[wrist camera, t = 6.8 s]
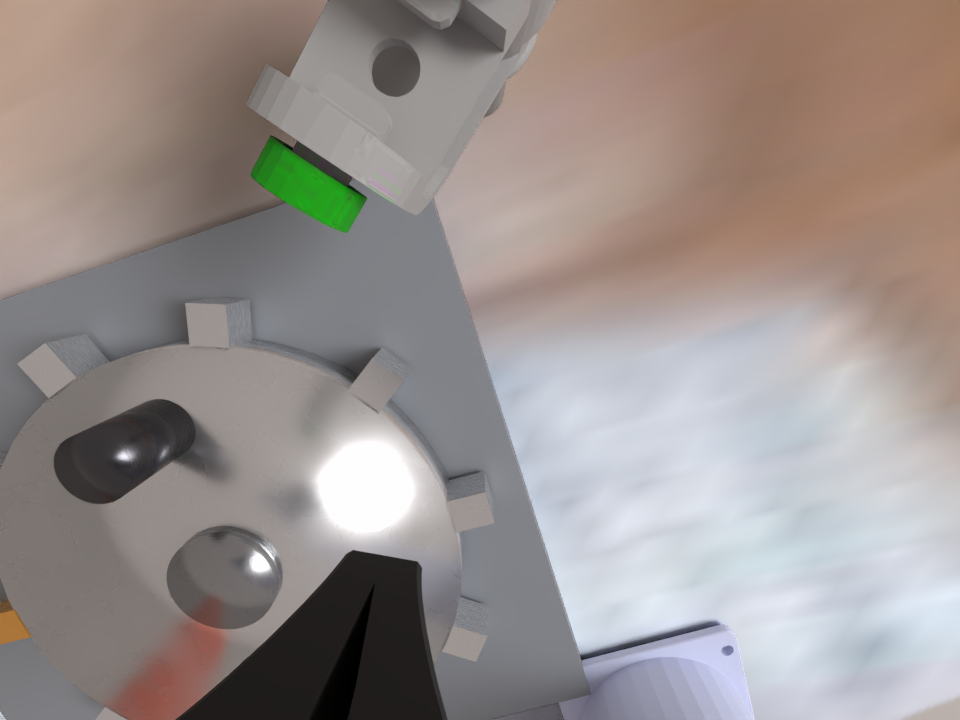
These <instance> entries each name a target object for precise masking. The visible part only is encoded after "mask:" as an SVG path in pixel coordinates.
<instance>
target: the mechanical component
mask: <svg viewBox="0 0 960 720" xmlns="http://www.w3.org/2000/svg"><path fill="white" fill-rule="evenodd" d="M555 3H556V0H328V2H327V4H326V6H325V8H324V10H323V12H322V14H321V16H320V18H319V20H318V22H317V24H316V25H315V27H314V29H313V31H312V33H311V35H310V37H309V39H308V41H307V43H306V45H305V47H304V49H303V51H302V53H301V55H300V57H299V59H298V61H297V63H296V65H295V67H294V69H293V71H292V73H291V75H290V77H288V76H286V75H284V74H283V73H281V72H280V71H278V70H276V69H275V68H273V67H271V66H269V65H267V64H265V66H264V68H263V70H262V72H261V74H260V76H259V78H258V80H257V82H256V84H255V86H254V88H253V90H252V92H251V94H250V96H249V98H248V100H247V102H246V105H247V106H248V107H250V108H251V109H252V110H254V111H255V112H257V113H258V114H259V115H261V116H262V117H264V118H265V119H267V120H268V121H269V122H271V123H272V124H274V125H275V126H277V127H278V128H280V129H281V130H283V131H284V132H286V133H287V134H289V135H290V136H292V137H293V138H295V139H296V140H297V142H296V144H295V146H294V148H292V147H291V146H289V145H287V144H286V143H284V142H282V141H281V140H279V139H277V138H275V137H273V136H270V138H269V140H268V141H267V143H266V145H265V147H264V149H263V151H262V153H261V155H260V157H259V159H258V161H257V163H256V164H255V166H254V168H253V170H252V172H251V176H252V178H253V179H254V180H255V181H257V182H258V183H259V184H260V185H262V186H263V187H264V188H266V189H267V190H268V191H270V192H271V193H273V194H274V195H276V196H277V197H279V198H280V199H282V200H283V201H285V202H286V203H288V204H290V205H291V206H293V207H295V208H296V209H298V210H300V211H301V212H303V213H305V214H306V215H308V216H310V217H312V218H314V219H316V220H317V221H319V222H321V223H323V224H325V225H327V226H329V227H331V228H333V229H336V230H338V231H341V232H344V233H348V232H349V230H350V228H351V226H352V225H353V223H354V221H355V219H356V218H357V216H358V214H359V212H360V211H361V209H362V207H363V205H364V204H365V202H366V200H367V197H366V196H364V195H363V194H362V193H360V192H359V191H358V190H356V189H355V188H353V187H352V186H351V185H349V183H350V181H351V179H352V178H355V179H356V180H358V181H359V182H361V183H362V184H364V185H365V186H367V187H368V188H370V189H372V190H373V191H375V192H376V193H378V194H379V195H381V196H382V197H384V198H386V199H387V200H389V201H390V202H392V203H394V204H395V205H397V206H398V207H400V208H402V209H404V210H405V211H407V212H409V213H411V214H413V215H418V214H419V213H421V212H422V211H423V210H424V209H425V207H426V206H427V205H428V204H429V203H430V201H431V200H432V199H433V197H434V196H435V195H436V193H437V192H438V190H439V189H440V188H441V186H442V185H443V183H444V182H445V180H446V179H447V177H448V175H449V174H450V172H451V170H452V169H453V167H454V166H455V164H456V162H457V161H458V159H459V157H460V156H461V154H462V152H463V151H464V149H465V147H466V146H467V144H468V142H469V141H470V139H471V137H472V136H473V134H474V132H475V131H476V129H477V127H478V126H479V124H480V122H481V121H482V119H483V117H485V116H488V115H490V114H491V113H493V112H494V111H495V110H496V109H497V108H498V107H499V105H500V104H501V102H502V98H503V95H504V89H505V83H506V80H507V79H508V78H510V77H511V76H513V75H514V74H515V73H516V72H517V71H518V70H519V69H520V68H521V67H522V66H523V65H524V63H525V62H526V61H527V59H528V58H529V56H530V54H531V52H532V50H533V47H534V44H535V41H536V37H537V33H538V31H539V30H540V28H541V27H542V26H543V25H544V23H545V22H546V20H547V18H548V17H549V15H550V14H551V12H552V10H553V7H554V5H555Z"/></svg>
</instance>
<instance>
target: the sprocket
mask: <svg viewBox="0 0 960 720" xmlns="http://www.w3.org/2000/svg"><path fill="white" fill-rule="evenodd" d="M185 306H186V316H187V326H188V335H189V340H184V341H179V342H174V343H169V344H165V345H160V346H157V347H154V348H151V349H148V350H144V351H141V352H138V353H135V354H131V355H128V356H126V357H123V358H120V359H117V360H114V361H112V362H110V361H109V360H108V359H107V358H106V357H105V356H104V355H103V353H102V352H101V351H100V350H99V349H98V348H97V347H96V345H95V344H94V343H93V342H92V341H91V340H90V339H89V337H88V336H87V335H86V334H83V335H78V336H74V337H69V338H65V339H60V340H56V341H51V342H47V343H44V344H43V345H42V346H40V347H39V348H38V349H36V350H35V351H34V352H32V353H31V354H30V355H28V356H27V357H26V358H24V359H23V360H22V361H20V362H19V363H18V364H17V365H18V366H19V367H20V368H21V369H22V370H23V371H24V372H25V373H26V374H27V375H28V376H29V377H30V379H31V380H32V381H33V382H34V383H35V384H36V385H37V386H38V387H39V388H40V389H41V390H42V392H43V393H44V394H45V395H46V396H47V397H48V399H47V400H46V401H45V402H44V403H43V404H42V405H41V407H40V408H39V409H38V410H37V411H36V412H35V413H34V414H33V415H32V416H31V417H30V418H29V419H28V420H27V422H26V423H25V425H24V426H23V428H22V429H21V431H20V432H19V434H18V435H17V437H16V438H15V440H14V441H13V443H12V445H11V447H10V449H9V451H8V453H4V452H1V451H0V578H1V581H2V584H3V587H4V589H5V592H6V595H7V597H8V598H7V599H5V600H4V601H3V602H1V603H0V645H1V644H5V643H9V642H13V641H17V640H21V639H25V638H29V637H31V639H32V640H33V642H34V643H35V645H36V646H37V647H38V648H39V650H40V651H41V652H42V653H43V654H44V655H45V656H46V658H47V659H48V660H49V661H50V662H51V663H52V664H53V665H54V667H55V668H56V669H57V670H59V671H60V672H61V673H62V674H63V675H64V676H65V677H66V678H67V679H68V680H70V681H71V682H72V683H73V684H74V685H75V686H76V687H77V688H79V689H80V690H82V691H83V692H84V693H86V694H87V695H88V696H90V697H91V698H93V699H94V700H95V701H97V702H98V703H99V704H101V705H103V706H104V707H105V708H104V709H103V710H102V712H101V713H100V714H99V716H98V717H97V718H96V719H95V720H175V719H177V718H178V717H179V716H180V715H182V714H183V713H184V712H185V711H187V710H188V709H189V708H190V707H191V706H193V705H194V704H195V703H196V702H197V701H199V700H200V699H201V698H202V697H203V696H205V695H206V694H207V693H208V692H209V691H210V690H212V689H213V688H214V687H215V686H216V685H217V684H219V683H220V682H221V681H222V680H223V679H224V678H225V677H227V676H228V675H229V674H230V673H231V672H232V671H233V670H234V669H235V668H236V667H238V666H239V665H240V664H241V663H242V662H243V661H244V660H245V659H246V658H247V657H248V656H250V655H251V654H252V653H253V652H254V651H255V650H256V649H257V648H258V647H259V646H260V645H262V644H263V643H264V642H265V641H266V640H267V639H268V638H269V637H270V636H271V635H272V634H273V633H274V632H275V631H276V630H277V629H278V628H279V627H280V626H281V625H282V624H283V623H284V622H285V621H286V620H287V619H288V618H289V617H290V616H291V615H292V614H293V613H294V612H295V611H296V610H297V609H298V608H299V607H300V606H301V605H302V604H303V603H304V602H305V601H306V600H307V599H308V598H309V597H310V595H311V594H312V593H313V592H314V591H315V590H316V589H317V588H318V587H319V586H320V585H321V583H322V582H323V581H324V580H325V579H326V578H327V577H328V576H329V574H330V573H331V572H332V571H333V570H334V568H335V567H336V566H337V565H338V564H339V562H340V561H341V560H342V559H343V557H344V556H345V555H346V554H347V553H349V552H350V551H352V550H356V551H362V552H367V553H373V554H379V555H384V556H390V557H396V558H401V559H407V560H412V561H418V563H419V564H420V565H421V567H422V598H423V607H424V615H425V622H426V628H427V634H428V639H429V644H430V649H431V654H432V659H433V664H435V662H436V660H437V659H438V657H439V655H440V653H441V652H445V653H448V654H451V655H455V656H458V657H461V658H465V659H468V660H471V661H474V662H476V661H477V659H478V657H479V654H480V652H481V650H482V648H483V646H484V643H485V641H486V639H487V637H488V630H487V605H484V604H481V603H478V602H475V601H472V600H468V599H465V598H462V597H460V590H461V572H462V553H463V538H462V531H465V530H469V529H473V528H477V527H481V526H485V525H489V524H493V523H494V506H493V498H492V494H491V491H490V487H489V484H488V481H487V477H486V474H485V471H483V472H479V473H475V474H471V475H467V476H463V477H459V478H455V479H451V480H449V478H448V476H447V473H446V471H445V469H444V467H443V465H442V463H441V462H440V460H439V458H438V456H437V455H436V453H435V451H434V449H433V447H432V446H431V444H430V443H429V442H428V440H427V439H426V438H425V436H424V435H423V434H422V432H421V431H420V430H419V428H418V427H417V426H416V425H415V423H414V422H413V421H412V420H411V419H410V418H409V417H408V416H407V415H406V414H405V413H404V412H403V411H402V410H401V409H400V408H399V407H398V406H397V405H396V404H395V403H394V402H393V401H392V400H391V399H390V398H391V397H392V396H393V394H394V393H395V392H396V391H397V389H398V388H399V387H400V386H401V384H402V383H403V382H404V380H405V379H406V377H407V375H408V373H409V371H410V369H411V368H410V367H408V366H407V365H406V364H404V363H403V362H402V361H400V360H399V359H398V358H396V357H395V356H394V355H392V354H391V353H390V352H388V351H387V350H386V349H384V348H383V347H382V348H381V349H380V350H379V351H378V353H377V354H376V355H375V356H374V357H373V358H372V359H371V360H370V362H369V363H368V364H367V366H366V367H365V368H364V370H363V371H362V372H361V374H360V375H359V376H358V375H356V374H354V373H353V372H351V371H349V370H348V369H346V368H344V367H343V366H340V365H338V364H336V363H334V362H332V361H329V360H327V359H325V358H323V357H321V356H318V355H316V354H314V353H311V352H307V351H304V350H301V349H298V348H295V347H291V346H288V345H285V344H280V343H275V342H269V341H264V340H258V339H252V326H251V312H250V299H235V298H208V299H203V300H197V301H192V302H187V303H185Z"/></svg>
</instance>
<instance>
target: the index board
mask: <svg viewBox="0 0 960 720" xmlns="http://www.w3.org/2000/svg"><path fill="white" fill-rule="evenodd" d="M349 185H351V186H352V187H353V188H355V189H356V190H358V191H359V192H360V193H362V194H363V195H364V196H366V197H367V200H366V202H365V204H364V205H363V207H362V209H361V211H360V212H359V214H358V216H357V218H356V219H355V221H354V223H353V225H352V226H351V228H350V230H349V232H348V233H344V232H341V231H338V230H336V229H333V228H331V227H329V226H327V225H325V224H323V223H321V222H319V221H317V220H316V219H314V218H312V217H310V216H308V215H306V214H305V213H303V212H301V211H300V210H298V209H296V208H295V207H293V206H291V205H290V204H288V203H284V204H281V205H279V206H276V207H273V208H270V209H267V210H264V211H261V212H258V213H255V214H252V215H249V216H246V217H243V218H240V219H237V220H234V221H232V222H229V223H226V224H223V225H220V226H217V227H214V228H211V229H208V230H205V231H202V232H199V233H196V234H193V235H190V236H188V237H185V238H182V239H179V240H176V241H173V242H170V243H167V244H164V245H161V246H158V247H155V248H152V249H149V250H146V251H143V252H141V253H138V254H135V255H132V256H129V257H126V258H123V259H120V260H117V261H114V262H111V263H108V264H105V265H102V266H99V267H96V268H94V269H91V270H88V271H85V272H82V273H79V274H76V275H73V276H70V277H67V278H64V279H61V280H58V281H55V282H52V283H50V284H47V285H44V286H41V287H38V288H35V289H32V290H29V291H26V292H23V293H20V294H17V295H14V296H11V297H8V298H5V299H3V300H0V451H1V452H4V453H8V451H9V449H10V447H11V445H12V443H13V441H14V440H15V438H16V437H17V435H18V434H19V432H20V431H21V429H22V428H23V426H24V425H25V423H26V422H27V420H28V419H29V418H30V417H31V416H32V415H33V414H34V413H35V412H36V411H37V410H38V409H39V408H40V407H41V405H42V404H43V403H44V402H45V401H46V400H47V399H48V397H47V396H46V395H45V394H44V393H43V392H42V390H41V389H40V388H39V387H38V386H37V385H36V384H35V383H34V382H33V381H32V380H31V379H30V377H29V376H28V375H27V374H26V373H25V372H24V371H23V370H22V369H21V368H20V367H19V366H18V365H17V364H18V363H19V362H20V361H22V360H23V359H24V358H26V357H27V356H28V355H30V354H31V353H32V352H34V351H35V350H36V349H38V348H39V347H40V346H42V345H43V344H44V343H47V342H51V341H56V340H60V339H65V338H69V337H74V336H78V335H83V334H86V335H87V336H88V337H89V339H90V340H91V341H92V342H93V343H94V344H95V345H96V347H97V348H98V349H99V350H100V351H101V352H102V353H103V355H104V356H105V357H106V358H107V359H108V360H109V361H110V362H112V361H114V360H117V359H120V358H123V357H126V356H128V355H131V354H135V353H138V352H141V351H144V350H148V349H151V348H154V347H157V346H160V345H165V344H169V343H174V342H179V341H184V340H189V335H188V326H187V316H186V306H185V303H187V302H192V301H197V300H203V299H208V298H235V299H250V312H251V326H252V339H258V340H264V341H269V342H275V343H280V344H285V345H288V346H291V347H295V348H298V349H301V350H304V351H307V352H311V353H314V354H316V355H318V356H321V357H323V358H325V359H327V360H329V361H332V362H334V363H336V364H338V365H340V366H343V367H344V368H346V369H348V370H349V371H351V372H353V373H354V374H356V375H358V376H359V375H360V374H361V372H362V371H363V370H364V368H365V367H366V366H367V364H368V363H369V362H370V360H371V359H372V358H373V357H374V356H375V355H376V354H377V353H378V351H379V350H380V349H381V348H382V347H383V348H384V349H386V350H387V351H388V352H390V353H391V354H392V355H394V356H395V357H396V358H398V359H399V360H400V361H402V362H403V363H404V364H406V365H407V366H408V367H410V368H411V369H410V371H409V373H408V375H407V377H406V379H405V380H404V382H403V383H402V384H401V386H400V387H399V388H398V389H397V391H396V392H395V393H394V394H393V396H392V397H391V398H390V399H391V400H392V401H393V402H394V403H395V404H396V405H397V406H398V407H399V408H400V409H401V410H402V411H403V412H404V413H405V414H406V415H407V416H408V417H409V418H410V419H411V420H412V421H413V422H414V423H415V425H416V426H417V427H418V428H419V430H420V431H421V432H422V434H423V435H424V436H425V438H426V439H427V440H428V442H429V443H430V444H431V446H432V447H433V449H434V451H435V453H436V455H437V456H438V458H439V460H440V462H441V463H442V465H443V467H444V469H445V471H446V473H447V476H448V478H449V480H451V479H455V478H459V477H463V476H467V475H471V474H475V473H479V472H483V471H485V474H486V477H487V481H488V484H489V487H490V491H491V494H492V498H493V506H494V523H493V524H489V525H485V526H481V527H477V528H473V529H469V530H465V531H462V538H463V553H462V572H461V590H460V597H462V598H465V599H468V600H472V601H475V602H478V603H481V604H484V605H487V630H488V637H487V639H486V641H485V643H484V646H483V648H482V650H481V652H480V654H479V657H478V659H477V661H476V662H474V661H471V660H468V659H465V658H461V657H458V656H455V655H451V654H448V653H445V652H441V653H440V655H439V657H438V659H437V660H436V662H435V664H434V669H435V673H436V677H437V681H438V685H439V689H440V693H441V697H442V701H443V704H444V708H445V712H446V715H447V719H448V720H492V719H496V718H500V717H504V716H508V715H512V714H516V713H520V712H524V711H527V710H531V709H535V708H539V707H543V706H547V705H551V704H555V703H559V702H563V701H567V700H571V699H575V698H579V697H583V696H587V695H591V692H590V688H589V684H588V681H587V678H586V675H585V672H584V669H583V665H582V661H581V657H580V654H579V650H578V647H577V644H576V641H575V638H574V635H573V632H572V629H571V626H570V622H569V619H568V616H567V613H566V610H565V607H564V604H563V601H562V598H561V594H560V591H559V588H558V585H557V582H556V579H555V576H554V573H553V570H552V566H551V563H550V560H549V557H548V554H547V551H546V548H545V545H544V542H543V538H542V535H541V532H540V529H539V526H538V523H537V520H536V517H535V514H534V510H533V507H532V504H531V501H530V498H529V495H528V492H527V489H526V486H525V482H524V479H523V476H522V473H521V470H520V467H519V464H518V461H517V457H516V454H515V451H514V448H513V445H512V442H511V439H510V436H509V433H508V429H507V426H506V423H505V420H504V417H503V414H502V411H501V408H500V405H499V401H498V398H497V395H496V392H495V389H494V386H493V383H492V380H491V377H490V373H489V370H488V367H487V364H486V361H485V358H484V355H483V352H482V349H481V345H480V342H479V339H478V336H477V333H476V330H475V327H474V324H473V321H472V317H471V314H470V311H469V308H468V305H467V302H466V299H465V296H464V292H463V289H462V286H461V283H460V280H459V277H458V274H457V271H456V268H455V264H454V261H453V258H452V255H451V252H450V249H449V246H448V243H447V240H446V236H445V233H444V230H443V227H442V224H441V221H440V218H439V215H438V212H437V208H436V205H435V202H434V199H432V200H431V201H430V203H429V204H428V205H427V206H426V207H425V209H424V210H423V211H422V212H421V213H419V214H418V215H413V214H411V213H409V212H407V211H405V210H404V209H402V208H400V207H398V206H397V205H395V204H394V203H392V202H390V201H389V200H387V199H386V198H384V197H382V196H381V195H379V194H378V193H376V192H375V191H373V190H372V189H370V188H368V187H367V186H365V185H364V184H362V183H361V182H359V181H358V180H356V179H355V180H352V181H350V183H349ZM7 598H8V597H7V595H6V592H5V589H4V587H3V584H2V581H1V578H0V603H1V602H3V601H4V600H5V599H7ZM104 708H105V707H104V706H103V705H101V704H99V703H98V702H97V701H95V700H94V699H93V698H91V697H90V696H88V695H87V694H86V693H84V692H83V691H82V690H80V689H79V688H77V687H76V686H75V685H74V684H73V683H72V682H71V681H70V680H68V679H67V678H66V677H65V676H64V675H63V674H62V673H61V672H60V671H59V670H57V669H56V668H55V667H54V665H53V664H52V663H51V662H50V661H49V660H48V659H47V658H46V656H45V655H44V654H43V653H42V652H41V651H40V650H39V648H38V647H37V646H36V645H35V643H34V642H33V640H32V639H31V637H29V638H25V639H21V640H17V641H13V642H9V643H5V644H1V645H0V711H1V713H2V714H3V716H4V717H5V718H6V720H95V719H96V718H97V717H98V716H99V714H100V713H101V712H102V710H103V709H104Z"/></svg>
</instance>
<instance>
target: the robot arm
mask: <svg viewBox="0 0 960 720" xmlns="http://www.w3.org/2000/svg"><path fill="white" fill-rule="evenodd" d="M725 646H726V647H725ZM723 647H724V648H723ZM581 661H582V665H583V669H584V672H585V675H586V678H587V681H588V684H589V688H590V692H591V695H587V696H583V697H579V698H575V699H571V700H567V701H563V702H559V706H560V709H561V712H562V715H563V718H564V720H755V719H754V714H753V710H752V705H751V701H750V696H749V691H748V687H747V682H746V678H745V673H744V669H743V664H742V660H741V655H740V651H739V646H738V642H737V637H736V635H735V633H734V632H733V630H732V629H731V628H730V627H729V626H727V625H717V626H713V627H709V628H706V629H702V630H698V631H694V632H690V633H686V634H682V635H678V636H674V637H671V638H667V639H663V640H659V641H655V642H651V643H647V644H643V645H639V646H635V647H632V648H628V649H624V650H620V651H616V652H612V653H608V654H604V655H600V656H597V657H593V658H589V659H585V660H581ZM175 720H448V719H447V715H446V712H445V708H444V704H443V701H442V697H441V693H440V689H439V685H438V681H437V677H436V673H435V669H434V664H433V659H432V654H431V649H430V644H429V639H428V634H427V628H426V622H425V615H424V607H423V598H422V567H421V565H420V564H419V563H418V561H412V560H407V559H401V558H396V557H390V556H384V555H379V554H373V553H367V552H362V551H356V550H352V551H350V552H349V553H347V554H346V555H345V556H344V557H343V559H342V560H341V561H340V562H339V564H338V565H337V566H336V567H335V568H334V570H333V571H332V572H331V573H330V574H329V576H328V577H327V578H326V579H325V580H324V581H323V582H322V583H321V585H320V586H319V587H318V588H317V589H316V590H315V591H314V592H313V593H312V594H311V595H310V597H309V598H308V599H307V600H306V601H305V602H304V603H303V604H302V605H301V606H300V607H299V608H298V609H297V610H296V611H295V612H294V613H293V614H292V615H291V616H290V617H289V618H288V619H287V620H286V621H285V622H284V623H283V624H282V625H281V626H280V627H279V628H278V629H277V630H276V631H275V632H274V633H273V634H272V635H271V636H270V637H269V638H268V639H267V640H266V641H265V642H264V643H263V644H262V645H260V646H259V647H258V648H257V649H256V650H255V651H254V652H253V653H252V654H251V655H250V656H248V657H247V658H246V659H245V660H244V661H243V662H242V663H241V664H240V665H239V666H238V667H236V668H235V669H234V670H233V671H232V672H231V673H230V674H229V675H228V676H227V677H225V678H224V679H223V680H222V681H221V682H220V683H219V684H217V685H216V686H215V687H214V688H213V689H212V690H210V691H209V692H208V693H207V694H206V695H205V696H203V697H202V698H201V699H200V700H199V701H197V702H196V703H195V704H194V705H193V706H191V707H190V708H189V709H188V710H187V711H185V712H184V713H183V714H182V715H180V716H179V717H178V718H177V719H175Z"/></svg>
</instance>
